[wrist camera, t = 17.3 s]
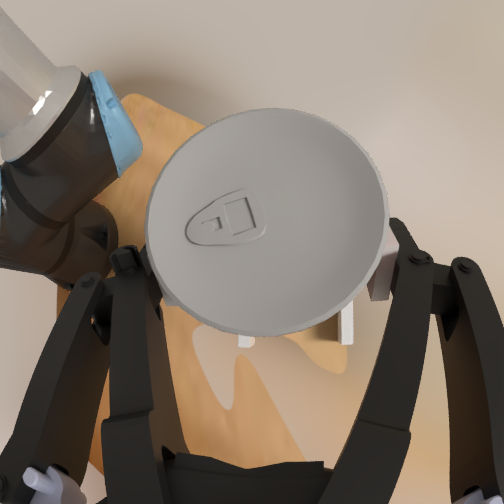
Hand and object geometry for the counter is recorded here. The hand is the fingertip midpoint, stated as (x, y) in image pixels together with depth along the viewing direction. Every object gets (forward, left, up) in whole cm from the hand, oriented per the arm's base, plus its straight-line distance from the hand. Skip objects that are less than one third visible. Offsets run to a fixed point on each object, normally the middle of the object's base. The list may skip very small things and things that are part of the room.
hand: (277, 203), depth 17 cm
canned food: (+2, -2, -4) cm, 5 cm away
